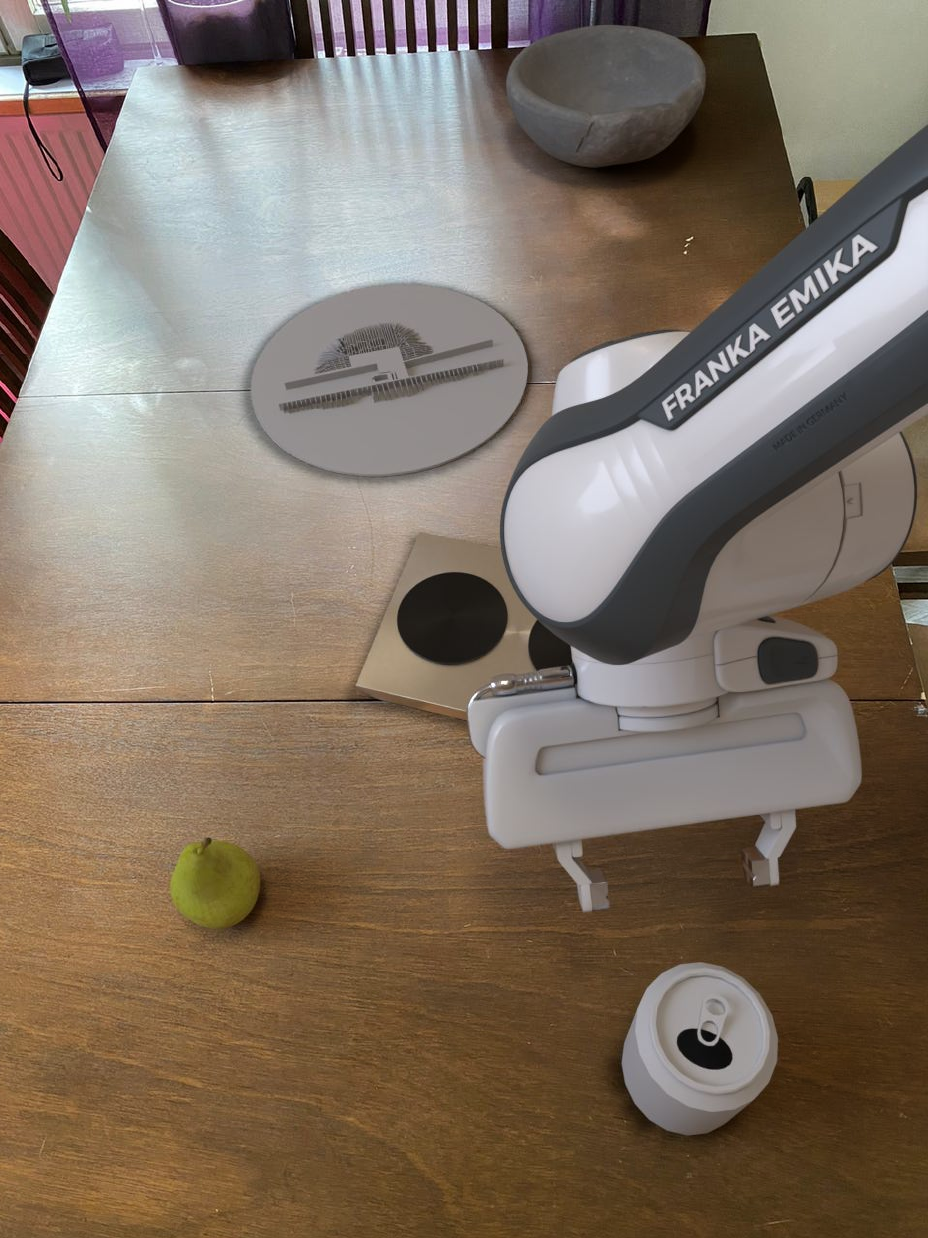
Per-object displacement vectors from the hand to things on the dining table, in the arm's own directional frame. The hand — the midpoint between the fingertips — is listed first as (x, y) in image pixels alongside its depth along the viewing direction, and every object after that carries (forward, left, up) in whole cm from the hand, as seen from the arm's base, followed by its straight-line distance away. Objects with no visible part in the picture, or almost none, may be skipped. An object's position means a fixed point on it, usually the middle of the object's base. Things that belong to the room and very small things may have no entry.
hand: (678, 894), depth 54 cm
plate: (+36, -50, -13) cm, 63 cm away
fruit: (+29, +4, -13) cm, 32 cm away
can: (-3, +6, -13) cm, 14 cm away
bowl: (+24, -95, -13) cm, 98 cm away
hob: (+15, -22, -12) cm, 29 cm away
